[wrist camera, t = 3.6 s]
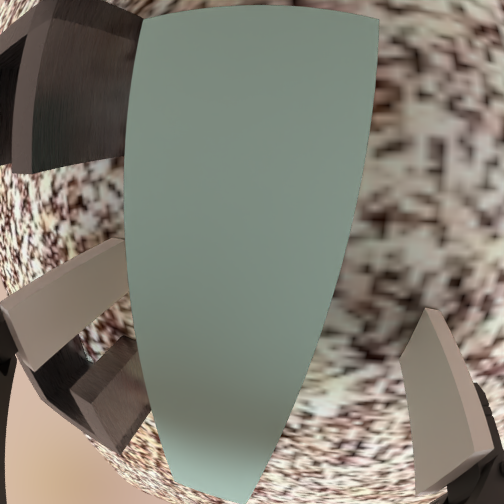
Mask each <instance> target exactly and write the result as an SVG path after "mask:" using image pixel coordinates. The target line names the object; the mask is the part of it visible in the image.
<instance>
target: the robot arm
mask: <svg viewBox="0 0 504 504" xmlns="http://www.w3.org/2000/svg"><path fill="white" fill-rule="evenodd" d="M128 292H129V288H128V278H127V267H126V254H125V240H122V239H118V238H114V237H112V238H110V239H108V240H106V241H104V242H102V243H100V244H98V245H96V246H95V247H93V248H91V249H89V250H87V251H85V252H83V253H81V254H80V255H78V256H76V257H74V258H72V259H70V260H69V261H67V262H65V263H63V264H61V265H60V266H58V267H56V268H54V269H53V270H51V271H49V272H48V273H46V274H44V275H42V276H41V277H39V278H37V279H36V280H34V281H32V282H31V283H29V284H27V285H26V286H24V287H23V288H21V289H19V290H18V291H16V292H15V293H13V294H11V295H10V296H8V297H7V298H6V299H4V300H2V301H1V302H0V504H7V502H6V489H5V438H6V426H7V416H8V408H9V401H10V394H11V389H12V383H13V378H14V373H15V368H16V364H17V358H16V356H15V354H16V353H17V352H18V351H19V354H20V356H21V358H22V360H23V362H24V363H25V364H26V365H27V366H28V367H29V368H30V369H32V370H33V371H34V372H35V371H36V370H37V369H38V368H40V367H41V366H42V365H43V364H44V363H45V362H46V361H47V360H49V359H50V358H51V357H52V356H53V355H54V354H55V353H56V352H58V351H59V350H60V349H61V348H62V347H63V346H64V345H66V344H67V343H68V342H69V341H70V340H71V339H73V338H74V337H75V336H76V335H77V334H78V333H80V332H81V331H82V330H83V329H84V328H85V327H87V326H88V325H89V324H90V323H91V322H93V321H94V320H95V319H96V318H97V317H99V316H100V315H101V314H102V313H103V312H105V311H106V310H107V309H108V308H110V307H111V306H112V305H113V304H114V303H116V302H117V301H118V300H119V299H121V298H122V297H123V296H124V295H126V294H127V293H128ZM399 360H400V365H401V370H402V375H403V380H404V386H405V391H406V397H407V403H408V410H409V417H410V425H411V433H412V442H413V453H414V467H415V491H416V496H419V495H427V494H435V493H436V492H438V491H440V490H441V489H443V488H444V487H446V486H447V491H448V492H447V493H446V494H444V495H442V496H441V497H439V498H438V499H436V500H434V501H432V502H431V503H430V504H504V451H503V448H502V444H501V440H500V437H499V433H498V430H497V427H496V424H495V421H494V418H493V416H492V412H491V409H490V407H489V403H488V400H487V398H486V395H485V393H484V392H483V390H482V389H481V388H480V386H479V385H478V384H477V383H473V381H472V378H471V376H470V373H469V371H468V369H467V366H466V364H465V362H464V359H463V357H462V355H461V353H460V350H459V348H458V346H457V344H456V342H455V340H454V337H453V335H452V333H451V331H450V329H449V327H448V325H447V323H446V321H445V319H444V317H443V316H442V314H441V312H440V311H439V310H434V309H429V308H425V309H424V311H423V313H422V315H421V318H420V320H419V322H418V324H417V326H416V328H415V330H414V332H413V334H412V336H411V338H410V340H409V342H408V344H407V346H406V348H405V350H404V352H403V353H402V355H401V357H400V359H399Z"/></svg>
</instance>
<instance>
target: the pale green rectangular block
mask: <svg viewBox="0 0 504 504" xmlns="http://www.w3.org/2000/svg"><path fill="white" fill-rule="evenodd" d="M378 41H379V19H375V18H371V17H367V16H362V15H357V14H352V13H347V12H341V11H334V10H327V9H320V8H310V7H299V6H283V5H240V6H223V7H212V8H203V9H195V10H188V11H182V12H176V13H170V14H165V15H160V16H156V17H151V18H147V19H143V23H142V27H141V31H140V36H139V41H138V46H137V51H136V56H135V62H134V68H133V74H132V81H131V88H130V96H129V105H128V114H127V125H126V139H125V157H124V229H125V248H126V262H127V273H128V283H129V292H130V301H131V308H132V316H133V322H134V329H135V335H136V341H137V347H138V352H139V357H140V362H141V367H142V372H143V377H144V381H145V385H146V390H147V394H148V398H149V402H150V406H151V410H152V413H153V417H154V421H155V424H156V427H157V431H158V434H159V437H160V441H161V444H162V447H163V450H164V453H165V456H166V459H167V462H168V465H169V468H170V470H171V473H172V476H173V478H174V481H175V482H177V483H179V484H182V485H184V486H187V487H190V488H192V489H195V490H198V491H200V492H203V493H206V494H209V495H212V496H215V497H219V498H222V499H225V500H229V501H232V502H236V503H239V504H246V503H247V502H248V500H249V498H250V496H251V494H252V492H253V491H254V489H255V487H256V485H257V483H258V481H259V479H260V477H261V475H262V473H263V471H264V469H265V467H266V465H267V463H268V461H269V459H270V457H271V455H272V453H273V451H274V449H275V447H276V445H277V443H278V440H279V438H280V436H281V434H282V432H283V429H284V427H285V425H286V423H287V420H288V418H289V416H290V413H291V411H292V408H293V406H294V404H295V401H296V399H297V396H298V394H299V391H300V389H301V386H302V384H303V381H304V379H305V376H306V373H307V371H308V368H309V365H310V363H311V360H312V357H313V354H314V352H315V349H316V346H317V343H318V340H319V337H320V334H321V331H322V328H323V325H324V322H325V319H326V316H327V313H328V310H329V306H330V303H331V300H332V297H333V293H334V290H335V287H336V283H337V280H338V276H339V273H340V269H341V265H342V262H343V258H344V254H345V250H346V246H347V242H348V238H349V234H350V230H351V226H352V222H353V217H354V213H355V208H356V204H357V199H358V194H359V189H360V184H361V179H362V174H363V169H364V163H365V157H366V151H367V145H368V139H369V132H370V125H371V118H372V110H373V102H374V93H375V83H376V72H377V58H378Z"/></svg>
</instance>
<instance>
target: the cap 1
mask: <svg viewBox="0 0 504 504" xmlns="http://www.w3.org/2000/svg"><path fill="white" fill-rule="evenodd" d="M142 23H143V18H141V17H139V16H137V15H135V14H133V13H130V12H128V11H126V10H124V9H121V8H119V7H117V6H114V5H112V4H110V3H107V2H105V1H102V0H42V1H41V2H40V3H38V4H37V5H36V6H34V7H33V8H32V9H30V10H29V11H28V12H26V13H25V14H24V15H23V16H21V17H20V18H19V19H18V20H17V21H15V22H14V23H13V24H12V25H11V26H10V27H8V28H7V29H6V30H5V31H4V32H3V33H2V34H1V35H0V166H1V165H5V164H9V163H12V173H19V174H34V173H38V172H42V171H46V170H51V169H55V168H59V167H64V166H69V165H74V164H79V163H84V162H89V161H95V160H101V159H107V158H114V157H120V156H125V139H126V125H127V114H128V105H129V96H130V88H131V81H132V74H133V68H134V62H135V56H136V51H137V46H138V41H139V36H140V31H141V27H142Z"/></svg>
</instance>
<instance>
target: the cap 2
mask: <svg viewBox="0 0 504 504" xmlns="http://www.w3.org/2000/svg"><path fill="white" fill-rule="evenodd" d="M16 355H17V357H18V359H19V361H20V363H21V365H22V367H23V369H24V371H25V373H26V374H27V376H28V378H29V380H30V381H31V383H32V385H33V387H34V388H35V390H36V392H37V393H38V395H39V397H40V398H41V400H43V401H44V402H45V403H46V404H47V405H48V406H50V407H51V408H52V409H53V410H55V411H56V412H57V413H58V414H60V415H61V416H62V417H63V418H65V419H66V420H68V421H69V422H70V423H71V424H73V425H74V426H76V427H77V428H78V429H80V430H81V431H83V432H84V433H86V434H87V435H89V436H90V437H92V438H93V439H95V440H96V441H98V442H99V443H101V444H102V445H104V446H106V447H107V448H109V449H111V450H112V451H114V452H116V453H117V454H119V455H121V453H122V452H123V450H124V449H125V447H126V446H127V445H128V443H129V442H130V440H131V439H132V437H133V436H134V434H135V433H136V432H137V430H138V429H139V427H140V426H141V424H142V423H143V421H144V420H145V419H146V417H147V416H148V414H149V413H150V411H151V406H150V402H149V398H148V394H147V390H146V385H145V381H144V377H143V372H142V367H141V362H140V357H139V352H138V347H137V341H135V340H132V339H130V338H128V337H125V336H122V337H121V338H120V339H119V340H118V341H117V342H116V343H115V344H114V345H113V346H112V347H111V348H110V349H109V350H108V351H107V352H106V353H105V354H104V355H103V356H102V357H101V358H100V359H99V360H98V361H97V362H96V363H95V364H93V363H91V362H89V361H87V359H86V356H85V353H84V350H83V347H82V344H81V341H80V338H79V335H78V334H77V335H76V336H75V337H74V338H73V339H71V340H70V341H69V342H68V343H67V344H66V345H64V346H63V347H62V348H61V349H60V350H59V351H58V352H56V353H55V354H54V355H53V356H52V357H51V358H50V359H49V360H47V361H46V362H45V363H44V364H43V365H42V366H41V367H40V368H38V369H37V370H36V371H35V372H34V371H33V370H32V369H30V368H29V367H28V366H27V365H26V364H25V363H24V362H23V360H22V358H21V356H20V354H19V351H18V352H17V353H16Z"/></svg>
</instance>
